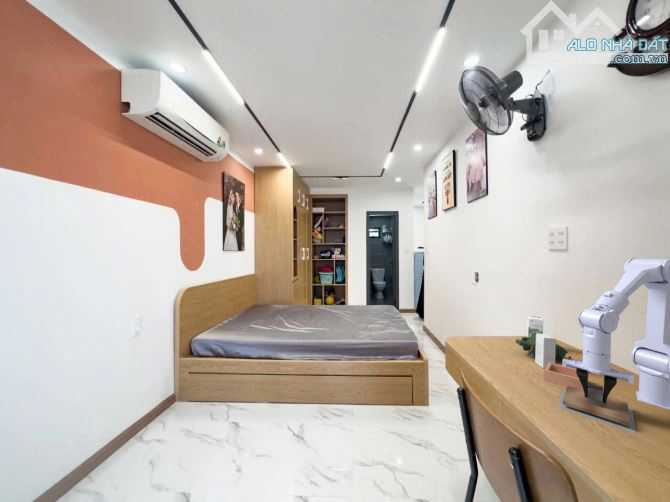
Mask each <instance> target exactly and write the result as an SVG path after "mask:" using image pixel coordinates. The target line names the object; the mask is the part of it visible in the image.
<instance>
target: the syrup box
mask: <svg viewBox="0 0 670 502" xmlns="http://www.w3.org/2000/svg"><path fill="white" fill-rule="evenodd" d="M526 324H527V325H526V337H531V336H532V335H533V334H534V333H535V332H536V333H538V334H544V319H543V317H542V316H534V315H527V319H526Z"/></svg>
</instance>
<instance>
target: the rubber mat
mask: <svg viewBox="0 0 670 502" xmlns="http://www.w3.org/2000/svg"><path fill="white" fill-rule="evenodd" d="M566 390H567V389H565V388H564V389H563V390H562V392H561V396H560V397H559V398H560V399H559V402H558V404H557V408H559V409H562V410H566V411H569V412H572V413H573V414H576V415H580V416H583V417H585V418H589V419H592V420H594V421H597V422H601V423H604V424H606V425H609V426H613V427H616V428H619V429H622V430H624V431H628V432H631V433H633V434H636V433H637V432H636V425H635V419H634V413H633V409H632V408H629V407H628V410H629V418H630V426H627V425H624V424H621V423H618V422H615V421H612V420H609V419H606V418H603V417H600V416H597V415H594V414H591V413H587V412H584V411H581V410H578V409H575V408H572V407H569V406H566V405H563V399H564V396H565V393H566Z"/></svg>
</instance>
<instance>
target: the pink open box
mask: <svg viewBox="0 0 670 502" xmlns="http://www.w3.org/2000/svg"><path fill="white" fill-rule="evenodd" d="M543 369H544V370H543V381H544V382H547V383H552V384H554V385H558V386H561V387H564V388H567V386H570V387H574V388H577V389H581V390H583V387H582V384H581V382H580V380H579V378H578V376H577V374H576V369H574V368H570V367H563V364H557V363H555V364H554V363H550V362H548V364H547V366H546V368H543Z"/></svg>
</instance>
